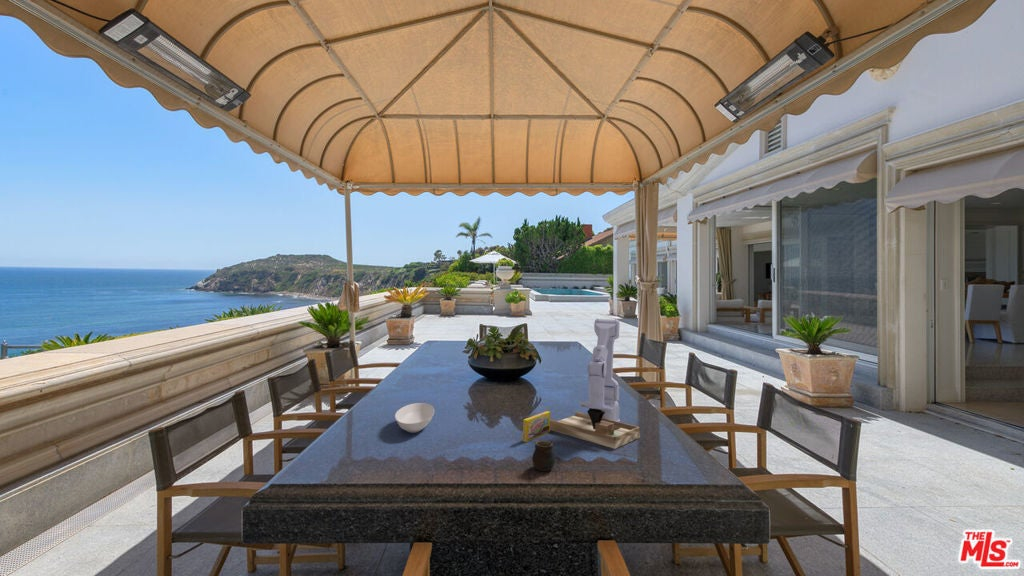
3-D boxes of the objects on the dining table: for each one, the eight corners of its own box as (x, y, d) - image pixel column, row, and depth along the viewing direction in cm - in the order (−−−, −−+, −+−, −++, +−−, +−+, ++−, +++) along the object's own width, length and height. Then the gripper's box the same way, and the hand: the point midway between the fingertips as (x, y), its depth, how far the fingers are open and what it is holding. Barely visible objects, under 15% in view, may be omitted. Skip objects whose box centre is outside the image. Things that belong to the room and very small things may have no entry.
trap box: (575, 420, 198) (576, 411, 198) (639, 437, 177) (640, 427, 177) (549, 429, 185) (549, 419, 185) (614, 448, 164) (615, 437, 164)
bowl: (429, 439, 171) (430, 423, 171) (388, 440, 170) (388, 423, 170) (437, 417, 201) (437, 403, 201) (402, 417, 200) (402, 403, 200)
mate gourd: (540, 462, 150) (541, 431, 150) (560, 468, 146) (561, 437, 146) (527, 468, 145) (528, 436, 145) (546, 475, 140) (548, 442, 140)
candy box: (526, 443, 169) (527, 420, 169) (521, 441, 171) (522, 419, 171) (550, 432, 182) (550, 411, 182) (545, 431, 183) (546, 410, 183)
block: (602, 431, 176) (602, 420, 176) (613, 434, 173) (614, 423, 173) (595, 433, 173) (595, 423, 173) (606, 437, 169) (606, 426, 169)
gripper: (574, 391, 178) (574, 426, 178) (607, 398, 168) (606, 435, 168) (585, 388, 183) (584, 423, 183) (617, 395, 173) (617, 431, 173)
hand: (596, 428), depth 176 cm, fingers closed
